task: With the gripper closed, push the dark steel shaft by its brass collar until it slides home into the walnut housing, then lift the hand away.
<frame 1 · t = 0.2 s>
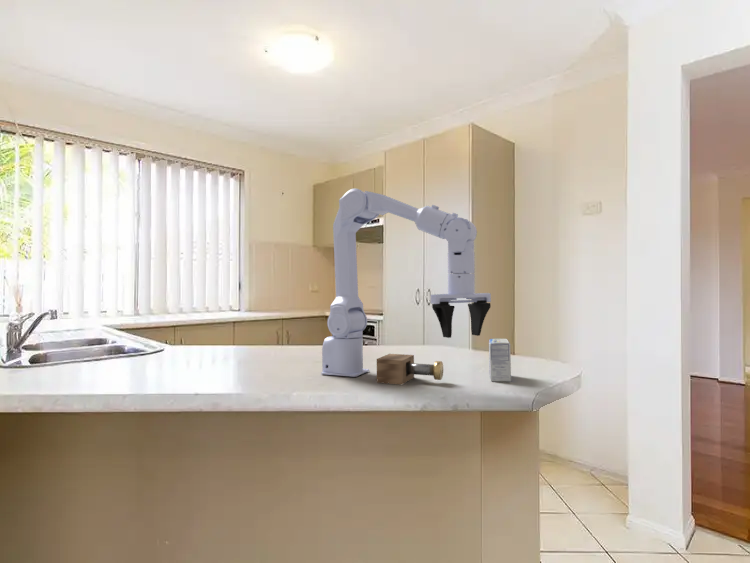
hand: (461, 336, 103), 10 cm above the table, tool pointing down, fingers open, 7 cm apart
medicine box: (499, 379, 108), on the table
shaft: (420, 369, 105), point 3 cm above the table, slide at 0.0 cm
housing: (395, 379, 107), on the table
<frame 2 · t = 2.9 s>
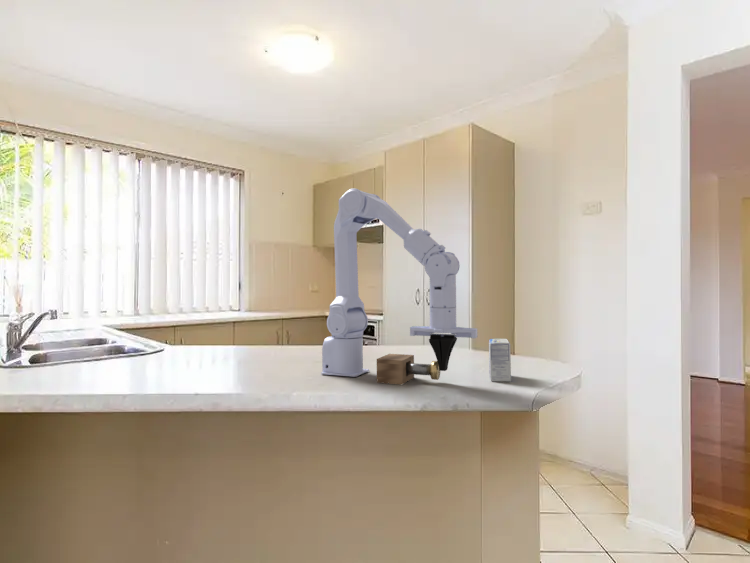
hand: (443, 370, 103), 3 cm above the table, tool pointing down, fingers closed
shaft: (417, 369, 105), point 3 cm above the table, slide at 0.7 cm, touching gripper
everything else where it was.
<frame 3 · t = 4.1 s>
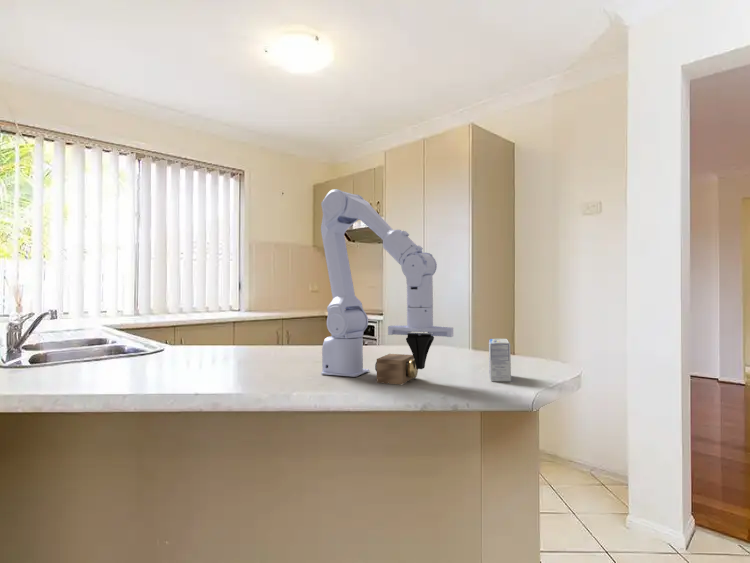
hand: (420, 368, 105), 3 cm above the table, tool pointing down, fingers closed
shaft: (395, 367, 107), point 3 cm above the table, slide at 5.9 cm, touching gripper
everything else where it was.
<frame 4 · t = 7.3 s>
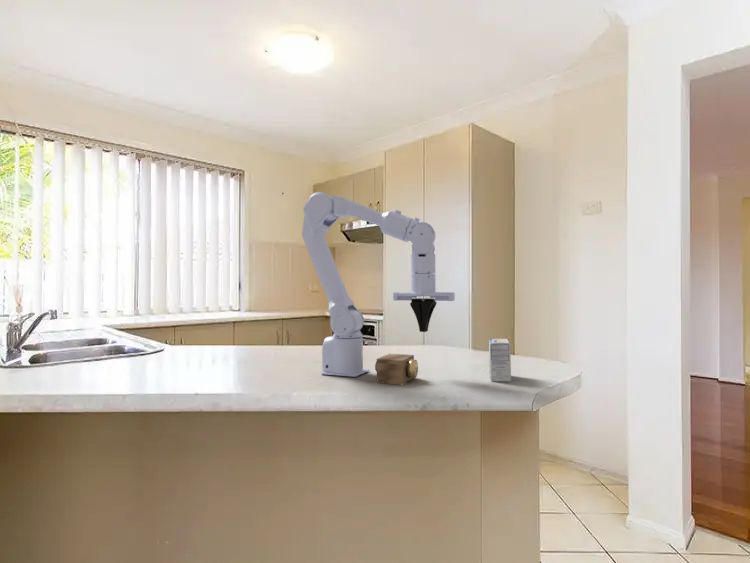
hand: (423, 331, 111), 10 cm above the table, tool pointing down, fingers closed
shaft: (395, 367, 107), point 3 cm above the table, slide at 5.9 cm
everything else where it was.
at the end: shaft slide at 5.9 cm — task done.
